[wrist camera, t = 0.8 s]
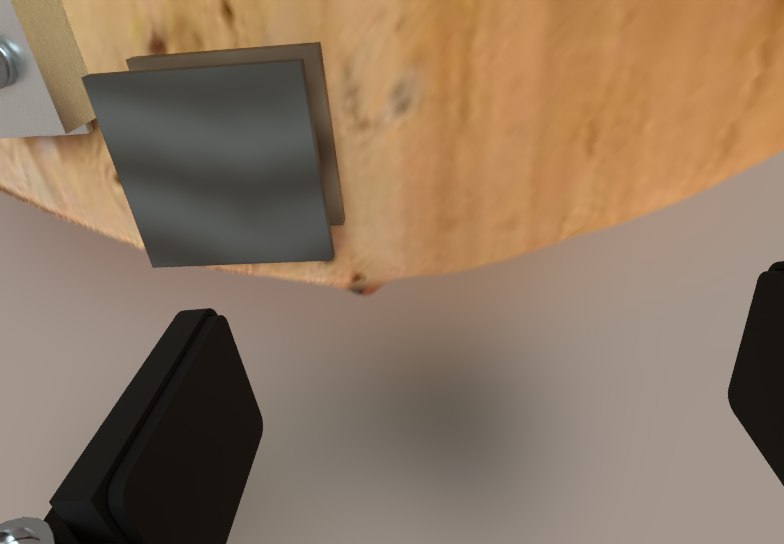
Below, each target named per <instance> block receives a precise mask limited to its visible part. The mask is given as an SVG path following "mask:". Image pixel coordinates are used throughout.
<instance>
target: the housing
mask: <svg viewBox="0 0 784 544" xmlns="http://www.w3.org/2000/svg"><path fill="white" fill-rule="evenodd" d="M86 75H88V73H87V70H86V67H85V65H84V62H83V59H82V57H81V54H80V51H79V48H78V46H77V43H76V40H75V38H74V35H73V32H72V30H71V27H70V24H69V21H68V19H67V16H66V13H65V11H64V8H63V5H62V3H61V0H0V138H16V137H31V136H59V135H75V134H89V133H91V132H92V131H94V128H93V126H92V123H91V121H92V120H93V119H95V118H96V116H95V113H94V111H93V108H92V105H91V103H90V100H89V97H88V95H87V92H86V89H85V87H84V84H83V82H82V79H81V77H84V76H86Z"/></svg>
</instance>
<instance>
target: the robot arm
mask: <svg viewBox="0 0 784 544" xmlns="http://www.w3.org/2000/svg"><path fill="white" fill-rule="evenodd" d="M728 399H729V403H730V406H731V408H732V410H733V412H734V414H735V415H736V417H737V418H738V419H739V421H740V422H741V424H742V425H743V427H744V428H745V430H746V431H747V433H748V434H749V436H750V437H751V439H752V440H753V441H754V443H755V445H756V446H757V447H758V449H759V450H760V452H761V453H762V455H763V456H764V458H765V459H766V461H767V462H768V464H769V465H770V467H771V468H772V469H773V471H774V472H775V474H776V475H777V477H778V478H779V480H780V481H781V483H782V484H783V486H784V261H781V262H776V263H774V264H772V265H771V267H770V268H769V270H768V271H765V272H763V273H761V275H760V276H759V278H758V280H757V284H756V288H755V291H754V295H753V299H752V303H751V306H750V310H749V314H748V318H747V321H746V325H745V329H744V333H743V336H742V340H741V344H740V347H739V351H738V355H737V359H736V362H735V366H734V370H733V374H732V378H731V381H730V385H729V389H728ZM262 432H263V421H262V416H261V413H260V410H259V407H258V405H257V402H256V399H255V396H254V394H253V391H252V388H251V385H250V383H249V380H248V377H247V374H246V371H245V369H244V366H243V363H242V360H241V358H240V355H239V352H238V349H237V346H236V344H235V341H234V338H233V335H232V333H231V330H230V327H229V324H228V322H227V319H226V318H225V317H224V316H222V315H217V313H216V312H215V310H213V309H211V308H208V309H196V310H184V311H180V312H179V313H178V314H177V315H176V316H175V318H174V319H173V321H172V322H171V324H170V325H169V327H168V328H167V330H166V331H165V333H164V334H163V336H162V337H161V338H160V340H159V341H158V343H157V344H156V346H155V348H154V349H153V350H152V352H151V353H150V355H149V356H148V358H147V359H146V360H145V362H144V364H143V365H142V366H141V368H140V369H139V371H138V372H137V374H136V375H135V377H134V378H133V380H132V381H131V383H130V384H129V385H128V387H127V388H126V390H125V391H124V393H123V394H122V396H121V397H120V399H119V400H118V402H117V403H116V404H115V406H114V407H113V409H112V410H111V412H110V413H109V415H108V416H107V418H106V419H105V421H104V422H103V423H102V425H101V426H100V428H99V430H98V431H97V433H96V434H95V436H94V437H93V438H92V440H91V441H90V443H89V444H88V446H87V447H86V449H85V450H84V451H83V453H82V454H81V456H80V457H79V459H78V460H77V462H76V463H75V465H74V466H73V468H72V469H71V471H70V472H69V473H68V475H67V476H66V478H65V479H64V481H63V482H62V484H61V485H60V487H59V488H58V490H57V491H56V493H55V494H54V496H53V497H52V498H51V500H50V501H49V503H50V504H51V506H52V508H51V510H50V511H49V513H48V514H47V516H46V517H45V519H44V520H41V519H39V518H31V517H22V518H18V519H14V520H10V521H6V522H4V523H2V524H0V544H226V542H227V539H228V536H229V533H230V530H231V527H232V524H233V521H234V518H235V515H236V512H237V509H238V506H239V503H240V500H241V497H242V494H243V491H244V488H245V485H246V482H247V479H248V476H249V473H250V470H251V467H252V464H253V461H254V458H255V455H256V452H257V449H258V446H259V443H260V440H261V437H262Z"/></svg>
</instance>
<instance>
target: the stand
mask: <svg viewBox="0 0 784 544" xmlns="http://www.w3.org/2000/svg"><path fill="white" fill-rule="evenodd" d="M126 62H127V65H128V68H129V71H124V72H111V73H98V74H89V75H86V76H84V77H81V79H82V82H83V84H84V87H85V89H86V92H87V95H88V97H89V100H90V103H91V105H92V108H93V111H94V113H95V116H96V119H97V121H98V124H99V127H100V129H101V132H102V134H103V137H104V140H105V142H106V145H107V148H108V150H109V153H110V156H111V158H112V161H113V164H114V166H115V169H116V172H117V174H118V177H119V179H120V182H121V185H122V187H123V190H124V193H125V195H126V198H127V201H128V203H129V206H130V209H131V211H132V214H133V216H134V219H135V222H136V224H137V227H138V230H139V232H140V235H141V238H142V240H143V243H144V246H145V248H146V251H147V254H148V256H149V259H150V261H151V264H152V267H153V268H156V267H181V266H206V265H230V264H255V263H280V262H305V261H330V260H333V257H334V254H335V253H334V247H333V240H332V234H331V228H330V225H343V223H344V220H345V215H344V208H343V201H342V194H341V187H340V180H339V172H338V165H337V158H336V151H335V144H334V137H333V130H332V123H331V116H330V109H329V102H328V94H327V87H326V80H325V73H324V66H323V59H322V52H321V45H320V42H316V43H303V44H290V45H278V46H265V47H252V48H239V49H226V50H214V51H201V52H188V53H175V54H162V55H149V56H137V57H132V58H129V59H127V60H126Z"/></svg>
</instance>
